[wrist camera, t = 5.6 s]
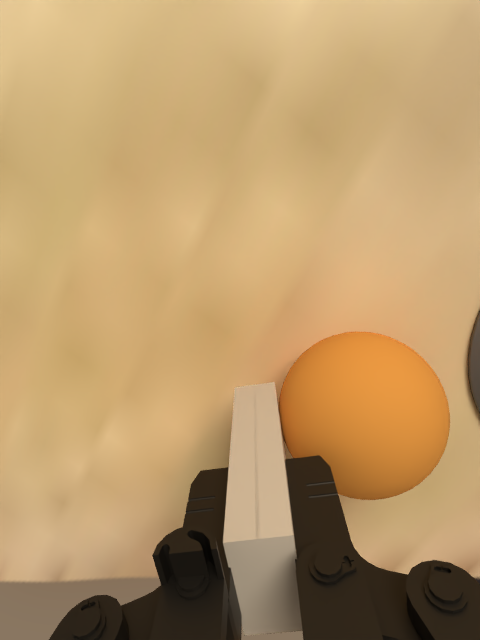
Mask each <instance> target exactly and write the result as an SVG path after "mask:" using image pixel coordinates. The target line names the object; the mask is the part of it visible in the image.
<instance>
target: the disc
mask: <svg viewBox="0 0 480 640" xmlns="http://www.w3.org/2000/svg"><path fill="white" fill-rule="evenodd" d="M468 375H469V381H470V387H471V392H472V395H473V398H474V401H475V404H476V407H477V409H478V411H479V412H480V311H479V314H478V316H477V318H476V322H475V325H474V329H473V332H472V336H471V341H470V348H469V355H468Z"/></svg>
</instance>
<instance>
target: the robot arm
mask: <svg viewBox="0 0 480 640" xmlns="http://www.w3.org/2000/svg"><path fill="white" fill-rule="evenodd" d="M188 500H189V502H188V503H187V508H186V514H185V519H184V524H183V527H182V528H179V529H176V530H175V531H173V532H171V533H170V534H168V535H166V536H165V537H164V538H163V539H162V541H161V542H160V543H159V544H158V545H157V547H156V549H155V551H154V553H153V555H152V556H153V559H154V562H155V566H156V569H157V572H158V575H159V579H160V582H161V586H160V587H158V588H157V589H156V590H154V591H153V592H151V593H149V594H147V595H146V596H143V597H141V598H139V599H136V600H134V601H132V602H129V603H127V604H124V605H122V606H120V604H119V602H118V601H117V599H115V598H113V597H111V596H108V595H97V596H93V597H91V598H89V599H86V600H83V601H82V602H80V603H79V604H78V605H76V606H75V607H74V608H72V609H71V610H70V611H69V612H68V613H67V615H66V616H65V617H64V618H63V620H62V621H61V622H60V623H59V625H58V627H57V628H56V630H55V631H54V633H53V634H52V636H51V637H50V639H49V640H241V625H242V628H243V632H244V635H245V636H247V635H258V634H269V633H282V632H293V631H303V639H304V640H480V584H479V583H478V582H477V581H476V580H475V579H474V578H473V577H472V576H471V575H470V574H468V573H467V572H466V571H465V570H463V569H461V568H459V567H457V566H455V565H453V564H451V563H448V562H442V561H437V560H433V561H426V562H421V563H420V564H418V565H416V566H415V567H413V568H412V569H411V571H410V573H409V574H408V575H407V574H402V573H397V572H392V571H388V570H384V569H381V568H378V567H376V566H374V565H372V564H370V563H368V562H367V561H366V560H365V559H363V558H362V557H361V556H360V555H359V554H358V552H357V551H356V550H355V548H354V546H353V544H352V542H351V539H350V535H349V532H348V528H347V524H346V521H345V517H344V514H343V510H342V507H341V503H340V499H339V496H338V492H337V489H336V485H335V482H334V478H333V474H332V471H331V467H330V466H329V465H328V464H327V462H326V461H325V460H324V459H323V458H322V457H321V456H320V455H317V456H309V457H301V458H293V459H286V453H285V446H284V439H283V435H282V429H281V422H280V415H279V406H278V400H277V393H276V387H275V382H271V383H263V384H256V385H248V386H241V387H235V391H234V404H233V417H232V430H231V443H230V456H229V467H228V468H220V469H212V470H203V471H200V472H199V474H198V475H197V477H196V478H195V480H194V481H193V482H192V484H191V488H190V493H189V498H188Z"/></svg>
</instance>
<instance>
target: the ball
mask: <svg viewBox="0 0 480 640" xmlns="http://www.w3.org/2000/svg"><path fill="white" fill-rule="evenodd" d="M279 415H280V422H281V429H282V435H283V438H284V441H285V443H286V445H287V448H288V450H289V451H290V453H291V455H292V456H293V458H301V457H309V456H317V455H320V456H321V457H322V458H323V459H324V460H325V461H326V462H327V464H328V465H329V466H330V467H331V471H332V474H333V478H334V482H335V485H336V489H337V492H338V494H340V495H344V496H347V497H350V498H355V499H362V500H376V499H384V498H389V497H393V496H396V495H399V494H402V493H404V492H406V491H408V490H410V489H412V488H413V487H415V486H416V485H418V484H419V483H421V482H422V481H423V480H424V479H425V478H426V477H427V476H428V475H429V474H430V473H431V472H432V471H433V469H434V468H435V467H436V465H437V464H438V462H439V460H440V459H441V457H442V455H443V453H444V450H445V448H446V444H447V440H448V436H449V428H450V413H449V407H448V401H447V398H446V395H445V392H444V389H443V387H442V385H441V383H440V381H439V379H438V377H437V375H436V374H435V372H434V371H433V369H432V368H431V367H430V366H429V364H428V363H427V362H426V361H425V360H424V359H423V358H422V357H421V356H420V355H419V354H417V353H416V352H415V351H414V350H413V349H411V348H410V347H408V346H406V345H405V344H403V343H401V342H399V341H397V340H395V339H393V338H390V337H387V336H384V335H381V334H376V333H371V332H347V333H342V334H338V335H334V336H331V337H328V338H326V339H324V340H322V341H320V342H318V343H316V344H315V345H313V346H312V347H310V348H309V349H308V350H306V351H305V352H304V353H303V354H302V355H301V356H300V357H299V358H298V359H297V361H296V362H295V363H294V364H293V366H292V367H291V369H290V370H289V372H288V374H287V376H286V379H285V381H284V384H283V387H282V390H281V394H280V401H279Z"/></svg>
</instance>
